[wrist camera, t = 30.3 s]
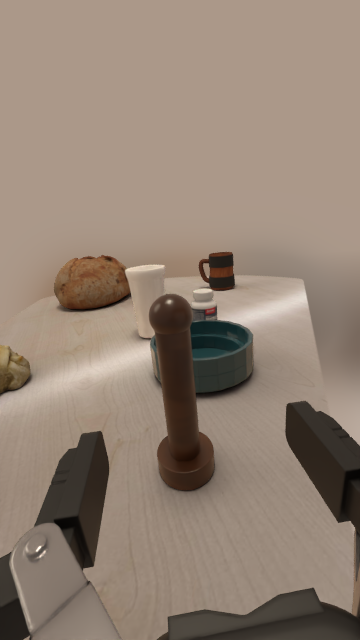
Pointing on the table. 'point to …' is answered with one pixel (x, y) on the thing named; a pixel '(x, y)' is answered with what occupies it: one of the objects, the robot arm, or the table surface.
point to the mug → (219, 271)
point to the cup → (145, 293)
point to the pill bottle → (204, 305)
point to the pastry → (12, 369)
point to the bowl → (216, 354)
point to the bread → (91, 282)
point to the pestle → (179, 397)
